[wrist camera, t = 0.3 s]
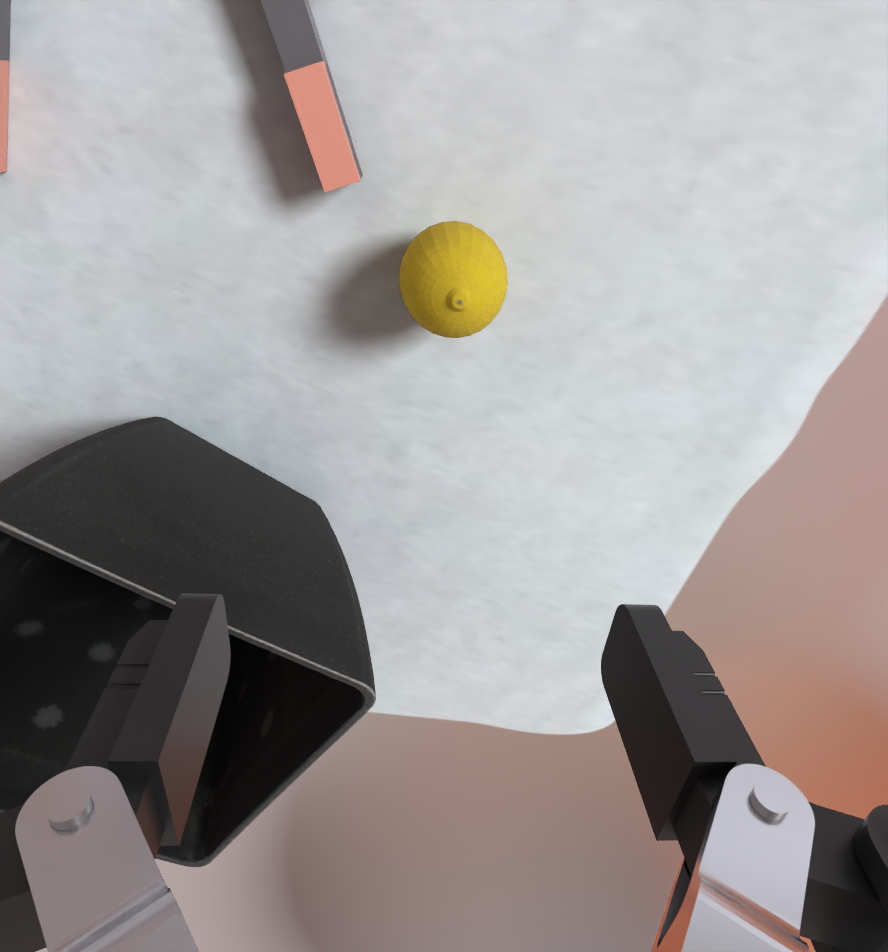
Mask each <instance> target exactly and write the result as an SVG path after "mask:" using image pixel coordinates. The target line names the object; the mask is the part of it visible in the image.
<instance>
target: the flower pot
mask: <svg viewBox="0 0 888 952" xmlns="http://www.w3.org/2000/svg"><path fill="white" fill-rule="evenodd" d="M182 593H191V594H221V595H222V596H223V598H224V604H225V611H226V619H227V626H228V634H229V641H230V651H231V657H230V669H229V675H228V679H227V683H226V687H225V690H224V694H223V697H222V700H221V704H220V707H219V711H218V714H217V718H216V721H215V725H214V728H213V731H212V735H211V738H210V742H209V745H208V749H207V752H206V756H205V759H204V762H203V766H202V769H201V773H200V776H199V780H198V783H197V787H196V790H195V793H194V797H193V800H192V804H191V807H190V811H189V814H188V818H187V821H186V824H185V828H184V831H183V835H182V838H181V842H180V845H179V846H159V849H158V852H157V855H156V859H160V860H164V861H168V862H171V863H175V864H179V865H184V866H188V867H189V866H190V867H201V866H205V865H207V864H209V863H210V862H211V861H212V860H214V859H215V858H216V857H217V856H218V855H219V854H220V853H221V852H222V851H223V850H224V849H225V848H226V847H227V846H228V845H229V844H230V843H231V842H232V841H233V840H234V839H235V838H236V837H237V836H238V835H239V834H240V833H241V832H242V831H243V830H244V829H245V828H246V827H247V826H249V825H250V824H251V823H252V822H253V821H254V820H255V819H256V818H257V817H258V816H259V815H260V814H261V813H262V812H263V811H264V810H265V809H266V808H267V807H268V806H269V805H270V804H271V803H272V802H273V801H274V800H275V799H276V798H277V797H278V796H279V795H280V794H281V793H283V791H285V790H286V789H287V788H288V787H289V786H290V785H291V784H292V783H293V782H294V781H295V780H296V779H297V778H298V777H299V776H300V775H301V774H302V773H303V772H304V771H305V770H307V769H308V768H309V767H310V766H311V765H312V764H313V763H314V762H315V761H316V760H317V759H318V758H319V757H320V756H321V755H322V754H323V753H324V752H326V751H327V750H328V749H329V748H330V747H331V746H332V745H333V744H334V743H335V742H336V741H337V740H338V739H339V738H340V737H341V736H342V735H343V734H345V733H346V732H347V731H348V730H349V729H350V728H351V727H352V726H353V725H354V724H355V723H356V722H357V721H358V720H359V719H360V718H361V717H363V716H364V715H365V713H366V712H367V711H368V710H369V709H370V708H371V707H372V706H373V705H374V703H375V700H376V694H375V685H374V675H373V669H372V663H371V657H370V651H369V646H368V641H367V635H366V630H365V625H364V620H363V616H362V612H361V608H360V604H359V600H358V596H357V592H356V589H355V586H354V583H353V579H352V576H351V573H350V571H349V568H348V565H347V562H346V559H345V557H344V554H343V552H342V549H341V547H340V545H339V542H338V540H337V538H336V535H335V534H334V532H333V530H332V528H331V526H330V523H329V521H328V519H327V517H326V516H325V514H324V512H323V511H322V509H321V507H320V506H319V505H318V504H317V503H316V502H315V501H313V500H311V499H309V498H308V497H306V496H304V495H302V494H300V493H298V492H297V491H295V490H293V489H291V488H290V487H288V486H286V485H284V484H282V483H281V482H279V481H277V480H275V479H274V478H272V477H270V476H268V475H266V474H265V473H263V472H261V471H259V470H258V469H256V468H254V467H252V466H250V465H249V464H247V463H245V462H243V461H241V460H240V459H238V458H236V457H234V456H232V455H230V454H229V453H227V452H225V451H223V450H222V449H220V448H218V447H216V446H214V445H213V444H211V443H209V442H207V441H205V440H204V439H202V438H200V437H198V436H197V435H195V434H193V433H191V432H189V431H188V430H186V429H184V428H182V427H180V426H178V425H176V424H175V423H173V422H171V421H169V420H168V419H165V418H161V417H152V418H146V419H140V420H137V421H133V422H130V423H126V424H123V425H119V426H116V427H113V428H110V429H107V430H104V431H101V432H99V433H96V434H94V435H91V436H88V437H86V438H83V439H81V440H78V441H76V442H74V443H72V444H70V445H68V446H65V447H63V448H61V449H59V450H57V451H55V452H53V453H51V454H49V455H47V456H45V457H44V458H42V459H40V460H38V461H36V462H34V463H33V464H31V465H29V466H27V467H25V468H24V469H22V470H20V471H19V472H17V473H15V474H14V475H12V476H10V477H9V478H7V479H5V480H4V481H2V482H1V483H0V813H1V812H5V811H7V810H10V809H13V808H15V807H18V806H20V805H22V804H24V803H25V802H26V801H27V799H28V798H29V797H30V796H31V795H32V794H33V793H34V792H35V791H36V790H37V789H38V788H39V787H40V786H41V785H43V784H44V783H45V782H47V781H48V780H49V779H51V778H53V777H55V776H56V775H58V774H60V773H62V772H63V771H64V769H65V768H66V766H67V764H68V763H69V761H70V759H71V757H72V755H73V753H74V751H75V749H76V747H77V745H78V743H79V740H80V738H81V736H82V734H83V732H84V730H85V728H86V726H87V724H88V722H89V720H90V718H91V716H92V714H93V712H94V710H95V708H96V706H97V704H98V702H99V700H100V698H101V696H102V694H103V691H104V689H105V688H107V686H108V684H107V683H108V681H109V679H110V677H111V675H112V673H113V671H114V669H116V668H117V663H118V661H119V659H120V657H121V655H122V653H123V651H124V649H125V647H126V645H127V642H128V640H129V639H130V638H132V637H133V636H134V635H135V634H136V633H137V632H138V631H139V630H140V629H141V628H142V627H143V626H144V625H145V624H146V623H147V622H148V621H149V620H169V617H170V615H171V613H172V611H173V608H174V606H175V604H176V601H177V599H178V597H179V596H180V595H181V594H182Z"/></svg>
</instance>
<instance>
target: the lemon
mask: <svg viewBox="0 0 888 952" xmlns="http://www.w3.org/2000/svg"><path fill="white" fill-rule="evenodd" d="M399 286H400V291H401V295H402V298H403V302H404V304H405V306H406V308H407V309H408V311H409V313H410V314H411V316H412V317H413V318H414V319H415V320H416V321H417V322H418V323H419V324H420V325H421V326H422V327H423V328H425V329H427V330H428V331H430V332H432V333H433V334H437V335H440V336H443V337H450V338H460V337H465V336H470V335H472V334H474V333H476V332H479V331H481V330H482V329H483V328H485V327H486V326H487V325H488V324H490V323H491V321H492V320H493V319H494V318H495V316H496V315H497V314H498V313H499V311H500V309H501V306H502V304H503V302H504V299H505V295H506V290H507V268H506V265H505V262H504V259H503V256H502V253H501V251H500V250H499V248H498V247H497V245H496V244H495V242H494V241H493V240H492V239H491V238H490V237H489V236H488V235H487V234H486V233H485V232H484V231H483V230H481V229H479V228H477V227H475V226H473V225H471V224H468V223H463V222H458V221H451V222H441V223H438V224H436V225H433V226H430V227H428V228H427V229H425V230H424V231H422V232H421V233H420V234H418V235H417V236H416V237H415V239H414V240H413V241H412V242H411V243H410V244H409V246H408V248H407V250H406V252H405V254H404V256H403V258H402V262H401V267H400V271H399Z"/></svg>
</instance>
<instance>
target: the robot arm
mask: <svg viewBox="0 0 888 952" xmlns="http://www.w3.org/2000/svg"><path fill="white" fill-rule="evenodd" d="M230 657H231V651H230V641H229V634H228V626H227V619H226V611H225V604H224V598H223V596H222V595H221V594H191V593H182V594H181V595H180V596H179V597H178V599H177V601H176V604H175V606H174V608H173V611H172V613H171V615H170V617H169V620H149V621H148V622H147V623H146V624H145V625H144V626H143V627H142V628H141V629H140V630H139V631H138V632H137V633H136V634H135V635H134V636H133V637H132V638H130V639H129V640H128V642H127V645H126V647H125V649H124V651H123V653H122V655H121V657H120V659H119V661H118V663H117V668H116V669H114V671H113V673H112V675H111V677H110V679H109V681H108V683H107V684H108V686H107V688H105V689H104V691H103V694H102V696H101V698H100V700H99V702H98V704H97V706H96V708H95V710H94V712H93V714H92V716H91V718H90V720H89V722H88V724H87V726H86V728H85V730H84V732H83V734H82V736H81V738H80V740H79V743H78V745H77V747H76V749H75V751H74V753H73V755H72V757H71V759H70V761H69V763H68V764H67V766H66V768H65V769H64V771H63V772H62V773H60V774H58V775H56V776H55V777H53V778H51V779H49V780H48V781H47V782H45V783H44V784H43V785H41V786H40V787H39V788H38V789H37V790H36V791H35V792H34V793H33V794H32V795H31V796H30V797H29V798H28V799H27V801H26V802H25V803H24V804H22V805H20V806H18V807H15V808H13V809H10V810H7V811H5V812H1V813H0V952H35V951H38V950H40V949H43V948H46V947H47V950H48V952H199V951H198V948H197V946H196V944H195V942H194V940H193V937H192V935H191V933H190V930H189V928H188V926H187V924H186V922H185V919H184V917H183V915H182V912H181V910H180V908H179V906H178V904H177V901H176V900H175V897H174V895H173V893H172V892H171V890H170V888H167V886H166V884H165V882H164V880H163V878H162V875H161V873H160V871H159V869H158V866H157V864H156V862H155V858H156V855H157V852H158V849H159V846H179V845H180V842H181V838H182V835H183V831H184V828H185V824H186V821H187V818H188V814H189V811H190V807H191V804H192V800H193V797H194V793H195V790H196V787H197V783H198V780H199V776H200V773H201V769H202V766H203V762H204V759H205V756H206V752H207V749H208V745H209V742H210V738H211V735H212V731H213V728H214V725H215V721H216V718H217V714H218V711H219V707H220V704H221V700H222V697H223V694H224V690H225V687H226V683H227V679H228V675H229V669H230ZM601 674H602V681H603V685H604V688H605V691H606V694H607V697H608V700H609V703H610V706H611V709H612V712H613V714H614V717H615V720H616V723H617V726H618V729H619V732H620V735H621V738H622V741H623V744H624V747H625V749H626V752H627V755H628V758H629V761H630V764H631V767H632V770H633V773H634V776H635V779H636V782H637V785H638V788H639V791H640V793H641V796H642V799H643V802H644V805H645V808H646V811H647V814H648V817H649V820H650V823H651V826H652V829H653V832H654V834H655V837H656V840H657V841H659V840H678V842H679V844H680V847H681V850H682V852H683V855H684V856H683V858H682V860H681V862H680V864H679V867H678V870H677V873H676V876H675V880H674V882H673V886H672V889H671V892H670V895H669V898H668V901H667V904H666V907H665V910H664V913H663V916H662V920H661V923H660V926H659V929H658V932H657V935H656V938H655V941H654V944H653V947H652V950H651V952H809V947H808V945H807V943H806V942H804V941H802V940H801V939H800V936H803V937H806V938H809V939H811V942H812V944H813V946H814V949H815V951H816V952H888V805H881V806H878V807H876V808H875V809H873V810H872V811H871V812H870V814H869V815H868V816H867V817H866V819H865V820H864V819H861V818H858V817H854V816H851V815H848V814H844V813H841V812H838V811H835V810H831V809H828V808H824V807H821V806H818V805H815V804H813V803H810V802H808V801H807V799H806V798H805V796H804V795H803V793H802V792H801V791H800V790H799V789H798V788H797V786H795V785H794V784H793V783H792V782H791V781H790V780H789V779H787V778H786V777H785V776H783V775H782V774H780V773H778V772H776V771H774V770H772V769H770V768H768V767H766V766H765V764H764V762H763V761H762V759H761V757H760V755H759V753H758V752H757V750H756V748H755V746H754V744H753V742H752V740H751V739H750V737H749V735H748V733H747V731H746V729H745V727H744V726H743V724H742V722H741V720H740V718H739V717H738V715H737V713H736V711H735V709H734V707H733V705H732V703H731V702H730V700H729V698H728V696H727V695H725V694H724V688H723V687H722V685H721V683H720V681H719V679H718V677H715V672H714V670H713V668H712V666H711V664H710V663H709V661H708V659H707V657H706V655H705V653H704V651H703V650H702V649H701V648H700V647H699V646H698V645H697V644H696V643H695V642H694V641H693V640H692V639H691V638H690V637H689V636H687V634H685V633H684V632H683V631H672V630H671V628H670V626H669V624H668V622H667V620H666V618H665V616H664V614H663V612H662V610H661V609H660V608H659V607H658V606H656V605H627V604H621V605H619V606H618V608H617V610H616V613H615V616H614V619H613V622H612V625H611V628H610V632H609V635H608V638H607V641H606V644H605V648H604V651H603V654H602V660H601Z"/></svg>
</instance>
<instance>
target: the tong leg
mask: <svg viewBox="0 0 888 952" xmlns="http://www.w3.org/2000/svg"><path fill="white" fill-rule="evenodd" d="M261 3H262V6H263V9H264V12H265V15H266V18H267V20H268V23H269V26H270V29H271V32H272V35H273V38H274V41H275V44H276V46H277V49H278V52H279V55H280V58H281V61H282V64H283V67H284V70H285V74H284V77H285V80H286V83H287V86H288V88H289V91H290V94H291V97H292V100H293V103H294V106H295V109H296V111H297V114H298V117H299V120H300V123H301V126H302V129H303V132H304V134H305V137H306V140H307V143H308V146H309V149H310V152H311V155H312V157H313V160H314V163H315V166H316V169H317V172H318V175H319V178H320V181H321V183H322V186H323V189H324V192H327V191H330V190H333V189H336V188H340V187H343V186H346V185H349V184H352V183H355V182H359V181H360V180H361V177H362V172H361V168H360V165H359V162H358V159H357V156H356V152H355V149H354V146H353V143H352V140H351V136H350V133H349V130H348V127H347V124H346V120H345V117H344V114H343V111H342V108H341V105H340V101H339V98H338V95H337V92H336V89H335V85H334V82H333V79H332V76H331V73H330V69H329V66H328V63H327V60H326V57H325V53H324V50H323V47H322V44H321V41H320V38H319V34H318V31H317V28H316V25H315V22H314V18H313V15H312V12H311V9H310V6H309V2H308V0H261Z"/></svg>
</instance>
